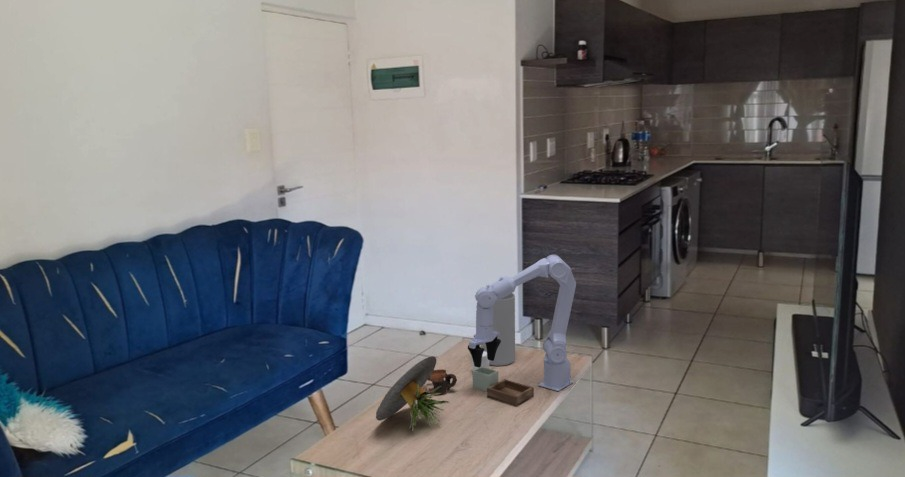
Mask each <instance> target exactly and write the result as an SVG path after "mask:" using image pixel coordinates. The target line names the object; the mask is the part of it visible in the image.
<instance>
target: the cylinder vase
mask: <svg viewBox="0 0 905 477" xmlns="http://www.w3.org/2000/svg"><path fill="white" fill-rule="evenodd" d="M493 311H494V315H493V331H497V332H499V338H497V339H500V340H501V343H500V344H499V346H498V348H497V351H496V354H495V358H494V361H491V360H490V361H489V366H492V367H493V366H494V367H495V366H496V367H499V366H500V367H501V366H508V365H511V364H512V363H514V361H515V360H516V296H515V293H514V292H513V293H511V294H509V295H507V296H505V297H504V298H502V299H500V300H498V301H495V304H494V305H493ZM480 347H481V348H484V349H485V350H484V351H487V348H486V343H483V344H481V345H480Z"/></svg>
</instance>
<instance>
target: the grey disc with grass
mask: <svg viewBox="0 0 905 477" xmlns="http://www.w3.org/2000/svg"><path fill="white" fill-rule="evenodd" d="M436 365H437V358H436V357H435V356H427V357H426V358H423V359H422V360H420V361H419V362H418V363H416V364H415V365H413V366H412V367H411V368H410V369H408V370H407V371H406V372H405V373H404V374H403V375H402V376H401V377H400V378H399V379H398V380H397V381H396V382H395V383H394V384H393V386H391V387H390V389H389V390H388V391H387V393H386V394H385V395H384V397H383V399H382V400H381V402H380V404H379V406H378V408H377V409H376V412H375V419H376V421H384V420H386V419H388V418H390V417H392V416H393V415H395V414H397V413H398V412H399V411H401V409H402V408H403V407H405V406H406V405H408V406H409V407H410V413H409V414H410V419H411V420H410V425H409V428H408V431H410V429H411V430H412V432H414V429H415V428H414V427H415V426H417V423H418V422H417V418H418V419H419V420H421V419H423V417H424V419H425V421H426V422H427V424H428V425H429V426H430V427H432V424H431V422H430V419H431V420H432V421H433V422H434V423H435V424H436V425H437V426H438V427H439V428H440V429H441V426H440V424H438V423H437V421H438V422H440V423H441V421H440V419H438V418H437V417H441V415H439V414H438V413H440V411H437V410H441V411H444V408H441V407H439V406H436V405H443V404H450V401H447V400H437V399H432V398H433V397H434V396H438V395H442V394H441V393H436V394H432V393H433V392H435V391H436V390H437V389H439V388H440V387H441V386H439V387H437V388H436V389H434V390H432V391H430V392H429V391H427V390H426V389H424V388H423V387H424V386H425V384H426V382H428V379H429V377H430V376H431V374H432V373H433V371H434V370H435V368H436ZM431 394H432V395H431ZM434 411H435V412H434ZM436 412H437V413H436ZM420 413H421V414H420ZM435 415H436V416H435ZM422 416H423V417H422ZM429 418H430V419H429ZM435 419H436V420H437V421H436V420H435Z"/></svg>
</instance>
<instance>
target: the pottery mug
mask: <svg viewBox="0 0 905 477" xmlns="http://www.w3.org/2000/svg"><path fill="white" fill-rule="evenodd" d="M451 379H452V380H451ZM457 381H458V379H457V376H456V375H455V374H453V373H449V374H448V373H447V370H446V369H434V371H433V373H432V374H431V376H430V377H429V379H428V380H427V382H431V383H432V387H430V388H428V392H430V391H432V390H434V389H436V388H437V387H439V386H441V387H440V388H439V389H437V390H436V391H435V392H433V393H432V394H436V393H441V394H440V395H446V394H447V390H448V391H450V390H451V388H453V387H454V386H455V385H456V383H457ZM432 394H431V395H432Z"/></svg>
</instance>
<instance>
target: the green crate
mask: <svg viewBox="0 0 905 477" xmlns="http://www.w3.org/2000/svg"><path fill="white" fill-rule="evenodd" d="M471 372H472V389H475V390H479V391H481V392H484V393H487V388H488V387H490V386H492V385H494V384H496V383H498V382H499V370H495V369H493V368H490V367H489V368H485V367H480V368H477V369H475V370H473V369H472V371H471Z"/></svg>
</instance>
